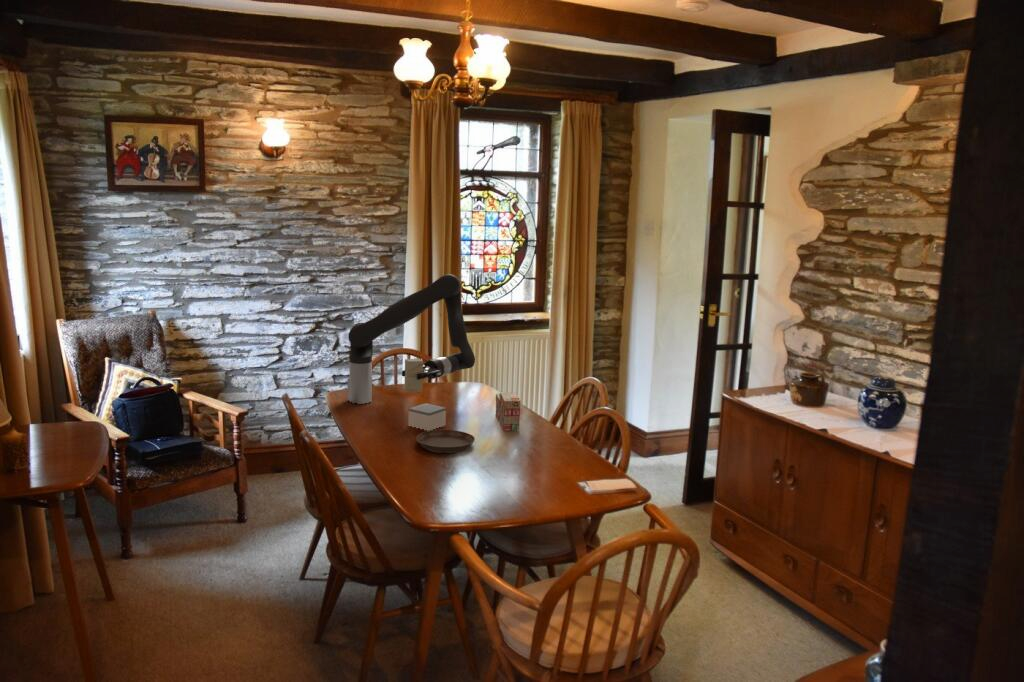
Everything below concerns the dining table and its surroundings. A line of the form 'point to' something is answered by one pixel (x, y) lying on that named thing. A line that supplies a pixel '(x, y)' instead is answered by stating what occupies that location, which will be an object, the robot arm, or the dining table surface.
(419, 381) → the skincare box
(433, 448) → the plant saucer
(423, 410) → the block
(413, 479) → the dining table surface
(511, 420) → the printed cardboard box
